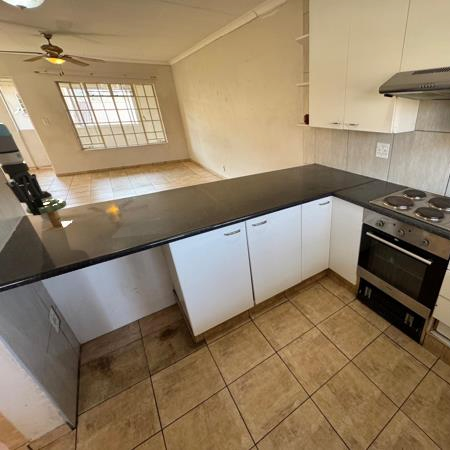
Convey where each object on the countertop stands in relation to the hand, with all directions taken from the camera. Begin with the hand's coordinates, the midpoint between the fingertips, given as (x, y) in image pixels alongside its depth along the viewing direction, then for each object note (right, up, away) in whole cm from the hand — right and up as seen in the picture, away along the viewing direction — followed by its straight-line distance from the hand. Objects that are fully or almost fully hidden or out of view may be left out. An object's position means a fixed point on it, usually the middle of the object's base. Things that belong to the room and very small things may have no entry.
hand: (40, 213), depth 114 cm
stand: (-1, -7, +10) cm, 12 cm away
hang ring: (-1, +3, +4) cm, 6 cm away
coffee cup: (-15, -2, +20) cm, 25 cm away
